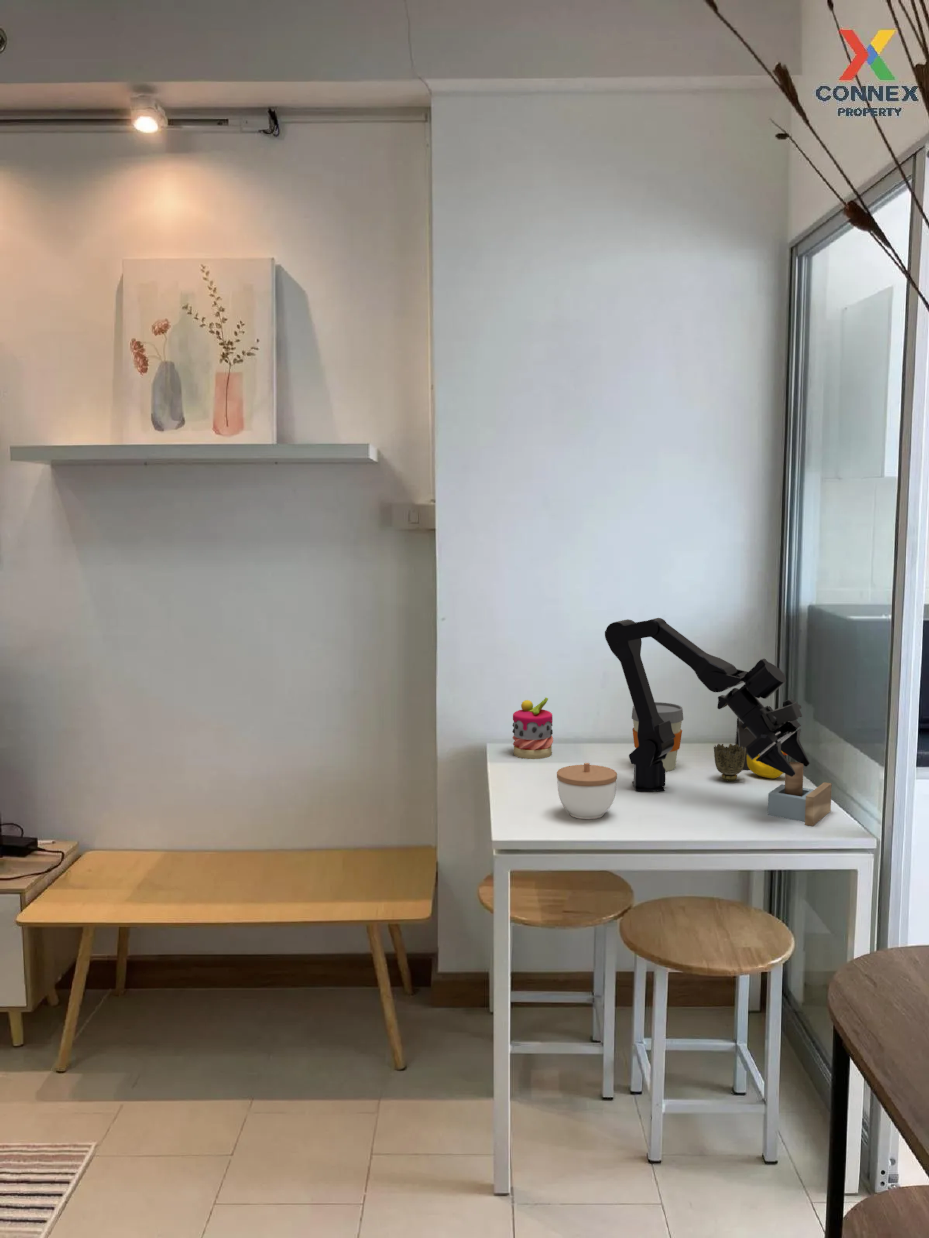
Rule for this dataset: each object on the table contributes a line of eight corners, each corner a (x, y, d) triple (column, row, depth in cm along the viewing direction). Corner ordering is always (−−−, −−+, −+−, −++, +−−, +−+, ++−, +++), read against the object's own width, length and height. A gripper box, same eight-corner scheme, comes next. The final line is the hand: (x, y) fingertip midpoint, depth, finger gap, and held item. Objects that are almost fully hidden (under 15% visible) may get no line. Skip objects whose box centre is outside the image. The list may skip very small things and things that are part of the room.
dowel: (792, 813, 215) (793, 767, 213) (780, 808, 218) (781, 762, 217) (805, 811, 216) (807, 764, 215) (793, 806, 219) (795, 760, 218)
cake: (512, 759, 263) (512, 701, 261) (512, 749, 273) (512, 693, 271) (553, 759, 262) (553, 701, 261) (551, 749, 273) (551, 693, 271)
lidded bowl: (544, 815, 217) (544, 764, 216) (578, 801, 227) (578, 752, 226) (595, 827, 209) (595, 774, 208) (628, 812, 219) (628, 761, 217)
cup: (742, 775, 246) (743, 743, 245) (748, 784, 238) (748, 751, 237) (710, 775, 246) (711, 742, 245) (715, 784, 239) (716, 750, 238)
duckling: (797, 778, 243) (799, 736, 242) (791, 783, 239) (792, 741, 237) (750, 771, 249) (751, 731, 248) (743, 776, 245) (744, 735, 243)
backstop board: (804, 824, 210) (805, 796, 209) (823, 809, 219) (823, 782, 219) (812, 826, 209) (813, 797, 208) (830, 810, 218) (831, 783, 218)
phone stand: (765, 770, 250) (766, 721, 249) (740, 770, 251) (741, 721, 249) (757, 760, 259) (758, 713, 258) (733, 760, 260) (734, 713, 258)
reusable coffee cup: (632, 773, 249) (632, 712, 247) (629, 759, 261) (630, 701, 259) (684, 774, 248) (686, 713, 246) (680, 760, 260) (681, 702, 258)
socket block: (767, 816, 216) (768, 793, 216) (781, 806, 223) (781, 784, 222) (805, 823, 212) (806, 799, 211) (818, 813, 218) (819, 790, 217)
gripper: (762, 696, 209) (815, 757, 204) (792, 681, 224) (843, 738, 219) (724, 729, 214) (775, 789, 209) (756, 713, 229) (804, 768, 224)
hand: (801, 770), depth 215 cm, fingers open, 9 cm apart
